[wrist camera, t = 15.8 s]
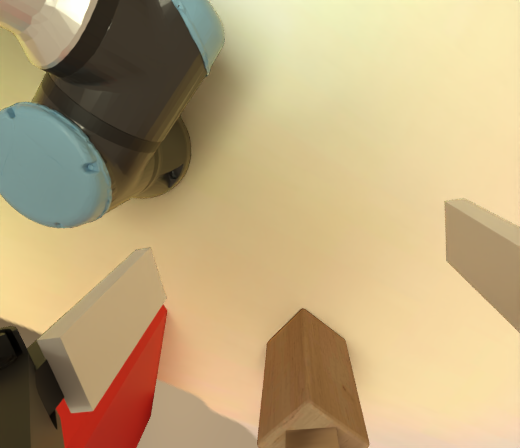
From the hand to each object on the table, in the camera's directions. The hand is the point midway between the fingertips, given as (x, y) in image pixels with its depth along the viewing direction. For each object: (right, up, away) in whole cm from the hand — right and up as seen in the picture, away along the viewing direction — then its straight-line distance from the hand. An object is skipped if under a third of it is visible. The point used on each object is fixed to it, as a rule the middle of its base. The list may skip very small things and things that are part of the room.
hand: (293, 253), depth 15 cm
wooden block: (+7, -19, +45) cm, 50 cm away
